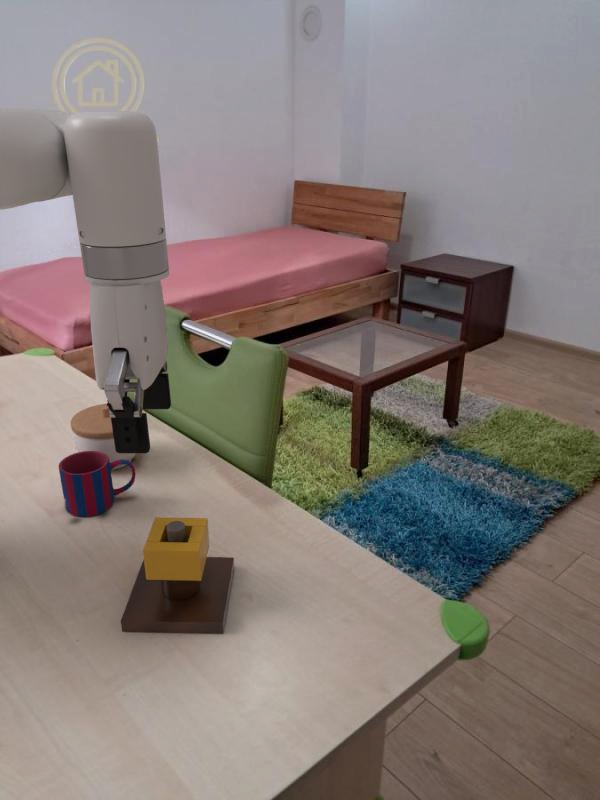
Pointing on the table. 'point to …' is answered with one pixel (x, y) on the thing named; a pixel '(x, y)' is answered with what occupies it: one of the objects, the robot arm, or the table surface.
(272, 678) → the table surface
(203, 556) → the yellow block
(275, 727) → the table surface
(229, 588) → the stand
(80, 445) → the trinket box
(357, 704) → the table surface
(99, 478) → the mug
